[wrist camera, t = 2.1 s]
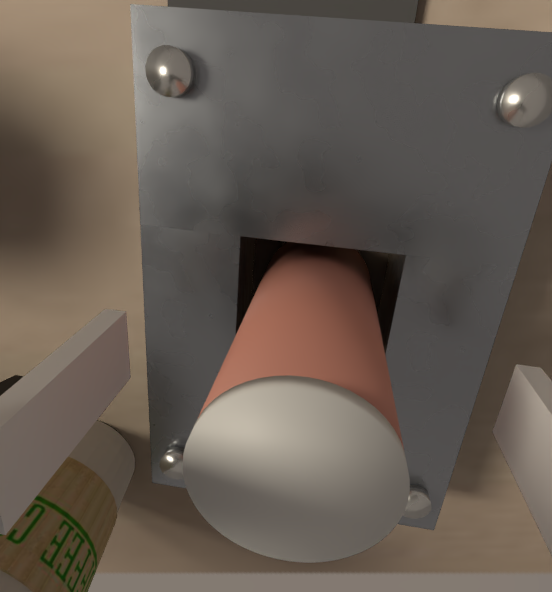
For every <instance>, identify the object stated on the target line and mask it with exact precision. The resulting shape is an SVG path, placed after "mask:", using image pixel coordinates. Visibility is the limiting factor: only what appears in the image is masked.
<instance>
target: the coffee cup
mask: <svg viewBox="0 0 552 592" xmlns="http://www.w3.org/2000/svg"><path fill="white" fill-rule="evenodd" d="M134 469H135V458H134V454H133V451H132V449H131V447H130V445H129V444H128V443H127V441H126V440H125V439H124V438H123V437H122V436H121V435H120V434H119V433H118V432H117V431H116V430H114V429H113V428H112V427H110V426H108V425H106V424H105V423H103V422H100V421H96V422H95V423H94V424H93V426H92V427H91V428H90V429H89V431H88V432H87V433H86V434H85V436H84V437H83V438H82V439H81V441H80V442H79V443H78V444H77V446H76V447H75V448H74V450H73V451H72V452H71V453H70V455H69V456H68V457H67V458H66V460H65V461H64V462H63V463H62V465H61V466H60V467H59V468H58V470H57V471H56V472H55V473H54V475H53V476H52V477H51V478H50V480H49V481H48V482H47V484H46V485H45V486H44V487H43V489H42V490H41V491H40V492H39V494H38V495H37V496H36V497H35V499H34V500H33V501H32V502H31V504H30V505H29V506H28V507H27V509H26V510H25V511H24V513H23V514H22V515H21V516H20V518H19V519H18V520H17V521H16V523H15V524H14V525H13V526H12V528H11V529H10V530H9V531H8V533H7V534H6V535H3V534H0V592H88V589H89V587H90V584H91V582H92V579H93V577H94V575H95V572H96V570H97V567H98V565H99V562H100V560H101V557H102V555H103V552H104V550H105V547H106V545H107V542H108V540H109V537H110V535H111V532H112V530H113V527H114V525H115V522H116V518H117V512H118V509H119V507H120V505H121V502H122V500H123V497H124V495H125V492H126V490H127V488H128V485H129V483H130V480H131V478H132V475H133V473H134Z"/></svg>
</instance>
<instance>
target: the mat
mask: <svg viewBox="0 0 552 592" xmlns="http://www.w3.org/2000/svg"><path fill="white" fill-rule="evenodd" d="M417 5H418V0H168V7H179V8H194V9H209V10H224V11H239V12H254V13H269V14H284V15H299V16H314V17H329V18H344V19H359V20H373V21H388V22H403V23H414V22H415V16H416V11H417Z"/></svg>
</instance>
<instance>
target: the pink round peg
mask: <svg viewBox="0 0 552 592" xmlns="http://www.w3.org/2000/svg"><path fill="white" fill-rule="evenodd" d="M182 468H183V478H184V481H185V485H186V489H187V491H188V493H189V496H190V498H191V500H192V502H193V503H194V505H195V507H196V508H197V510H198V511H199V512H200V514H201V515H202V516H203V517H204V519H205V520H206V521H207V522H208V523H209V524H210V525H211V526H212V527H213V528H215V529H216V530H217V531H218V532H220V533H221V534H222V535H223V536H225V537H226V538H228V539H229V540H231V541H232V542H234V543H236V544H238V545H240V546H242V547H244V548H246V549H248V550H250V551H253V552H255V553H258V554H261V555H264V556H267V557H270V558H275V559H279V560H285V561H292V562H306V563H313V562H327V561H334V560H339V559H343V558H347V557H350V556H353V555H355V554H358V553H361V552H363V551H365V550H367V549H369V548H371V547H372V546H374V545H375V544H377V543H378V542H380V541H381V540H383V539H384V538H385V537H386V536H387V535H388V534H389V533H390V532H391V531H392V530H393V529H394V527H395V526H396V525H397V524H398V522H399V521H400V519H401V517H402V515H403V514H404V511H405V509H406V506H407V503H408V498H409V493H410V479H409V473H408V467H407V462H406V457H405V452H404V447H403V442H402V437H401V432H400V427H399V422H398V417H397V412H396V407H395V402H394V396H393V391H392V386H391V381H390V376H389V371H388V366H387V361H386V356H385V351H384V346H383V341H382V336H381V331H380V326H379V321H378V315H377V310H376V305H375V300H374V295H373V290H372V285H371V280H370V275H369V271H368V268H367V265H366V263H365V261H364V260H363V258H362V257H361V255H360V254H359V253H358V252H357V251H356V250H355V249H348V248H340V247H331V246H322V245H313V244H305V243H296V242H287V243H286V244H284V245H283V246H282V247H281V248H280V249H279V250H278V251H277V252H276V253H275V254H274V255H273V257H272V259H271V260H270V262H269V264H268V266H267V269H266V271H265V273H264V275H263V277H262V279H261V282H260V284H259V286H258V288H257V290H256V293H255V295H254V297H253V299H252V301H251V303H250V306H249V308H248V310H247V312H246V314H245V316H244V319H243V321H242V323H241V325H240V327H239V329H238V332H237V334H236V336H235V338H234V340H233V343H232V345H231V347H230V349H229V351H228V353H227V356H226V358H225V360H224V362H223V364H222V366H221V369H220V371H219V373H218V375H217V377H216V379H215V382H214V384H213V386H212V388H211V390H210V392H209V395H208V397H207V399H206V401H205V403H204V406H203V408H202V410H201V412H200V414H199V416H198V419H197V421H196V423H195V425H194V427H193V429H192V432H191V434H190V436H189V438H188V440H187V443H186V446H185V450H184V454H183V464H182Z"/></svg>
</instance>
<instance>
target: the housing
mask: <svg viewBox="0 0 552 592" xmlns="http://www.w3.org/2000/svg"><path fill="white" fill-rule="evenodd" d="M130 6H131V28H132V50H133V72H134V94H135V116H136V137H137V159H138V181H139V203H140V225H141V247H142V269H143V291H144V313H145V334H146V356H147V378H148V400H149V422H150V444H151V466H152V483H157V484H163V485H169V486H175V487H181V488H186V485H185V481H184V478H183V468H182V464H183V454H184V450H185V446H186V443H187V440H188V438H189V436H190V434H191V432H192V429H193V427H194V425H195V423H196V421H197V419H198V416H199V414H200V412H201V410H202V408H203V406H204V403H205V401H206V399H207V397H208V395H209V392H210V390H211V388H212V386H213V384H214V382H215V379H216V377H217V375H218V373H219V371H220V369H221V366H222V364H223V362H224V360H225V358H226V356H227V353H228V351H229V349H230V347H231V345H232V343H233V340H234V338H235V336H236V334H237V332H238V329H239V327H240V325H241V323H242V321H243V319H244V316H245V314H246V312H247V310H248V308H249V306H250V303H251V301H252V290H253V274H254V258H255V242H256V238H261V239H270V240H278V241H287V242H296V243H305V244H313V245H322V246H331V247H340V248H348V249H357V250H366V251H375V252H384V253H389V259H388V264H387V269H386V274H385V279H384V285H383V290H382V295H381V300H380V305H379V311H378V321H379V326H380V331H381V336H382V341H383V346H384V351H385V356H386V361H387V366H388V371H389V376H390V381H391V386H392V391H393V396H394V402H395V407H396V412H397V417H398V422H399V427H400V432H401V437H402V442H403V447H404V452H405V457H406V462H407V467H408V473H409V479H410V493H409V498H408V503H407V506H406V509H405V511H404V514H403V515H402V517H401V519H400V521H399V522H398V524H400V525H406V526H412V527H418V528H424V529H430V530H434V529H435V525H436V522H437V519H438V516H439V513H440V510H441V507H442V503H443V500H444V497H445V494H446V491H447V488H448V485H449V482H450V478H451V475H452V472H453V469H454V466H455V463H456V460H457V457H458V453H459V450H460V447H461V444H462V441H463V438H464V435H465V432H466V428H467V425H468V422H469V419H470V416H471V413H472V410H473V406H474V403H475V400H476V397H477V394H478V391H479V388H480V385H481V381H482V378H483V375H484V372H485V369H486V366H487V363H488V360H489V356H490V353H491V350H492V347H493V344H494V341H495V338H496V335H497V331H498V328H499V325H500V322H501V319H502V316H503V313H504V309H505V306H506V303H507V300H508V297H509V294H510V291H511V288H512V284H513V281H514V278H515V275H516V272H517V269H518V266H519V263H520V259H521V256H522V253H523V250H524V247H525V244H526V241H527V238H528V234H529V231H530V228H531V225H532V222H533V219H534V216H535V213H536V209H537V206H538V203H539V200H540V197H541V194H542V191H543V187H544V184H545V181H546V178H547V175H548V172H549V169H550V166H551V162H552V32H538V31H523V30H508V29H493V28H478V27H463V26H448V25H433V24H418V23H403V22H388V21H373V20H359V19H344V18H329V17H314V16H299V15H284V14H269V13H254V12H239V11H224V10H209V9H194V8H179V7H164V6H149V5H134V4H130Z"/></svg>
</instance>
